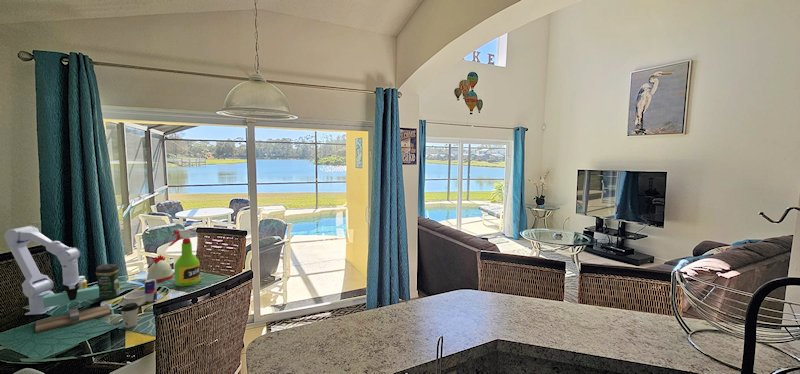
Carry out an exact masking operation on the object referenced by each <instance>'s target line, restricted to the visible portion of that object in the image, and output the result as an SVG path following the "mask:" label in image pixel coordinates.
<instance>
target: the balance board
mask: <svg viewBox="0 0 800 374" xmlns="http://www.w3.org/2000/svg"><path fill="white" fill-rule="evenodd" d="M68 311H69V313H66V314H65V313H64V314H61V315H57V316H51V317H49V318H44V319H40V320H36V321H35V328H34V330H35V333H40V331H41V332H45V331H48V330H49V331H50V330H53V329H57V328H60V327H65V326H68V325H69V326H70V325H73V324H76V323H81V322H85V321H89V320H93V319H96V318H100V317H105V316H108V315H109V316H110V315H111V314H112V312H111V310H110V306H109V305H108V304H104V305H100V306H96V307H92V308H88V309H83V310H79V307H78V306H75V307H74V306H73V307H71V308H69V310H68Z"/></svg>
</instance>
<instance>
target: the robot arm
mask: <svg viewBox="0 0 800 374" xmlns="http://www.w3.org/2000/svg"><path fill="white" fill-rule="evenodd" d="M3 238H4V240H5V242H6V244H7V246H8V248H9V250H10V252H11V253H12V256H13V257H14V259H15V262H16V263H17V265H18V267H19V269H20V270H21V271H20V272H22V275H23V277H24V278H25V280H24V281H23V283H21V288H22V293H23V295H24V296H26V298H28V304H29V311H28V312H26V313H24V316H30V315H31V316H32V315H43V314H45V313H46V314H47V311H48V312H49V311H51V310H53V309H55V308H56V307H58V306H59V305H57V306H52V307H47V308H44V303H43V297H44V296H45V295H51V294H55V293H54V292H53V290H52V289H53V288H54V281H53V280H52V279H51V278H49V275H47V274H42V273H41V272H40V270H39V268H38V266H37V263H36V262H35V260H34V258H33V256H32V254H31V252H30V250H29V249H28V244H29V243H30V242H31V241H32V242H33V243H36V244H38V245H41V246H43V247H45V250H46V251H47V252H49V253H51V254H53V255H54V256H56V257H57V259H58V261H59V262H60V265H61V269H62V271H61V272H62V285H63V290H64V292H67V294H68V297H69V300H70V301H71V300H75V299H76V295H77V291H78V289H79V287H80V286H78V284H79V281H82V279H79V276H80V275H79V264H78V263H79V261H78V259H79V258H80V257H81V250H80V249H78V247H72V246H70V247H69V246H67V245H65V244H64V243H62V241H60V240H52V239H50V238H48V237H47V236H45V235H44V234H43V233H41V232H40V230H39V228H37V227H35V226H34V225H26V226H22V227H17V228H11V229H7V230H6V231H5V233H4V235H3Z"/></svg>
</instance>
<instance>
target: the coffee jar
mask: <svg viewBox="0 0 800 374" xmlns="http://www.w3.org/2000/svg"><path fill="white" fill-rule="evenodd" d="M119 271H120V269H119V265H118V264H116V263H114V264H113V263H112V264H111V263H110V264H109V263H108V264H99V265H97V267H96V268H95V275H96V278H97V286H99V298H98V299H100V300H101V299H113V298H115V297H118V296H119V295H121V289H120V282H119Z"/></svg>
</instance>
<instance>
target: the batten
mask: <svg viewBox="0 0 800 374" xmlns="http://www.w3.org/2000/svg"><path fill="white" fill-rule="evenodd" d="M93 299H100V298H99V286H98V285H96V286H92V287H87V288H85V289H80V290H78V291H77V295H76V299H75V300H71V301H70V300H69V297H68V294H67V292H66V291H64V292H58V293H54V294H51V295H45V296H44V297H43V303H44V308H47V307H52V306H57V305H58V306H61V305H67V304H73V303H77V302H78V303H79V302H84V301H87V300H88V301H89V300H93ZM58 306H57V307H58Z"/></svg>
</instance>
